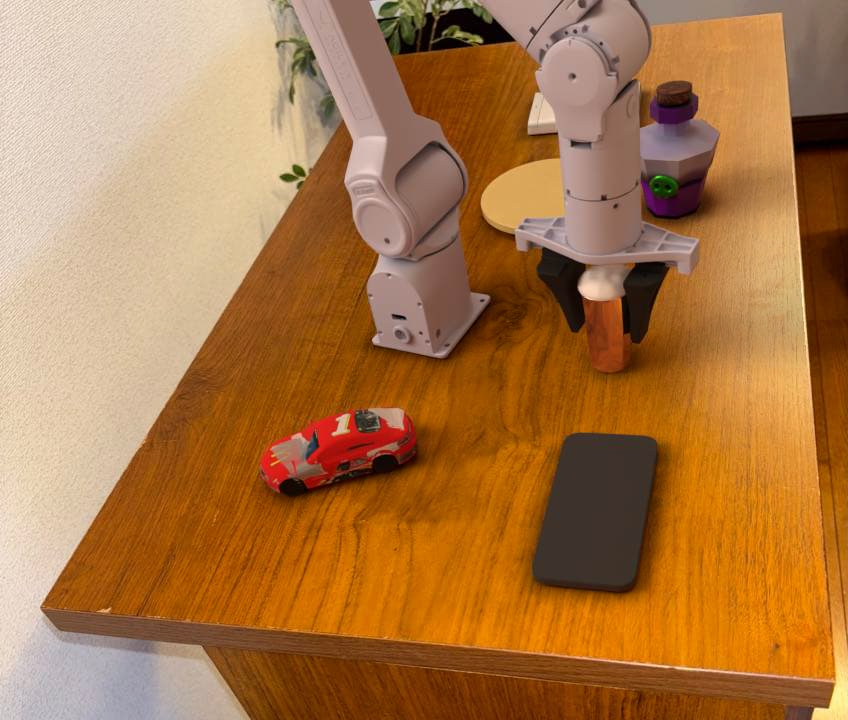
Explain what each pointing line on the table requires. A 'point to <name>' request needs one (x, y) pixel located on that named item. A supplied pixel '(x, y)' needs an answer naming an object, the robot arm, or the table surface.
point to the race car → (339, 449)
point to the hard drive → (546, 116)
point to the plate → (524, 195)
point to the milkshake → (606, 316)
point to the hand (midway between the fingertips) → (608, 331)
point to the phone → (596, 512)
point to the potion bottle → (675, 152)
